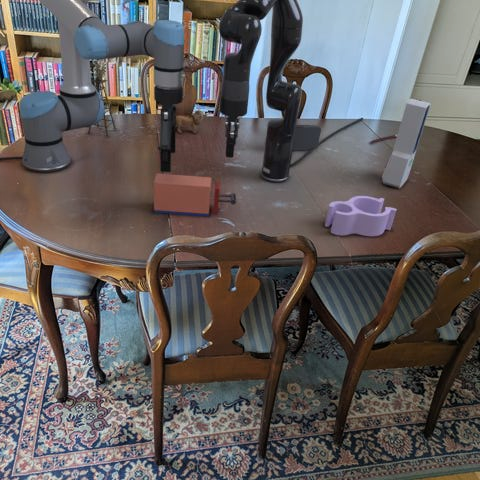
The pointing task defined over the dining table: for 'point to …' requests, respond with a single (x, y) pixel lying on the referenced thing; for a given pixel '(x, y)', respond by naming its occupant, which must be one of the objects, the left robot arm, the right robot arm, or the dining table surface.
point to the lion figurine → (190, 120)
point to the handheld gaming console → (306, 137)
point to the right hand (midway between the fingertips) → (229, 156)
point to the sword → (383, 138)
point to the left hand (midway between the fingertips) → (168, 161)
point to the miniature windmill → (99, 80)
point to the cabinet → (182, 194)
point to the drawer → (217, 195)
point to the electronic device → (406, 143)
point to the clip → (359, 216)
